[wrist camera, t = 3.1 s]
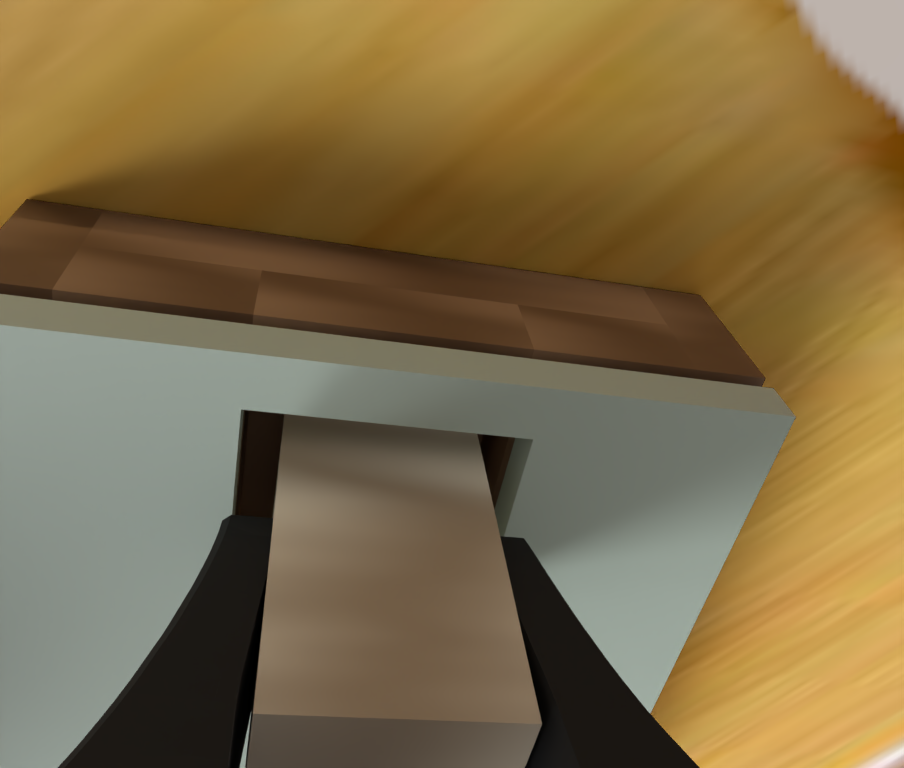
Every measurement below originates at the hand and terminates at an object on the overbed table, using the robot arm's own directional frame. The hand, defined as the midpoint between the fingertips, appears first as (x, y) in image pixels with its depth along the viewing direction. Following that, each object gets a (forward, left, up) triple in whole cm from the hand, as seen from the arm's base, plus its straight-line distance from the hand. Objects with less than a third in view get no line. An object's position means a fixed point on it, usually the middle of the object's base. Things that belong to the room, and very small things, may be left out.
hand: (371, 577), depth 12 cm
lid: (0, -5, -2) cm, 5 cm away
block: (0, 0, -3) cm, 3 cm away
